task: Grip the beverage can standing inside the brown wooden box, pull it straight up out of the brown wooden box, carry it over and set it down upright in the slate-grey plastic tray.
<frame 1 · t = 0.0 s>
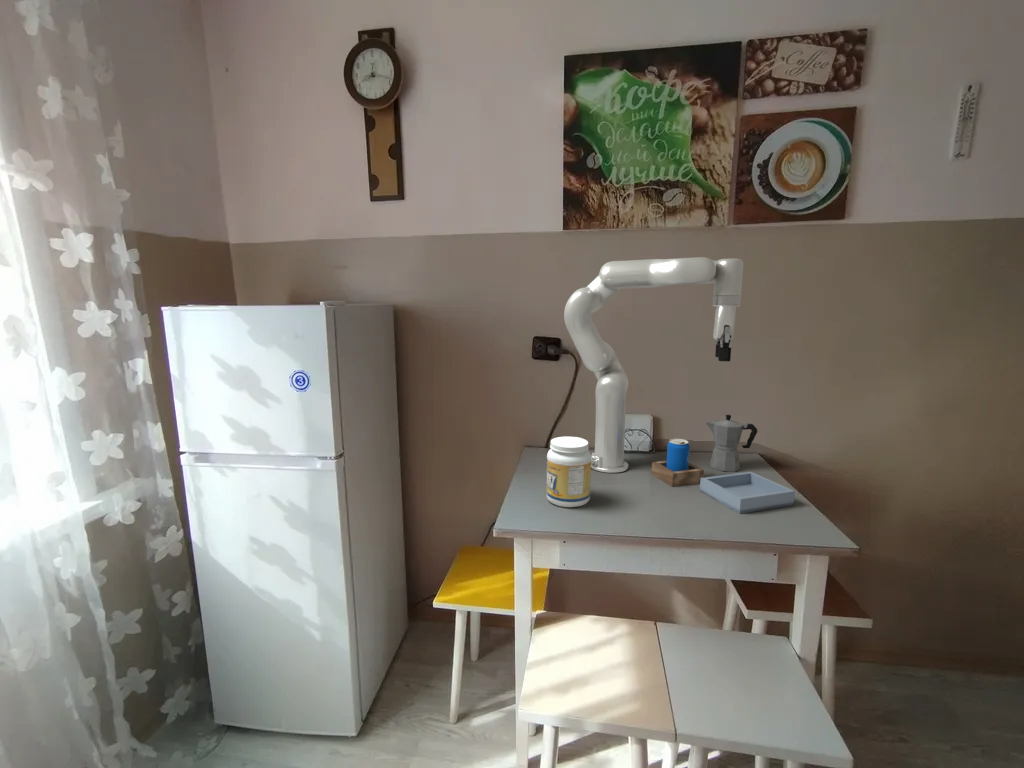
hand: (722, 359, 152), 37 cm above the table, tool pointing down, fingers open, 9 cm apart
beverage can: (676, 479, 157), resting in brown wooden box
supplement tub: (568, 500, 141), on the table
brown wooden box: (676, 478, 157), on the table
tray: (745, 497, 142), on the table
coffeepot: (728, 468, 167), on the table
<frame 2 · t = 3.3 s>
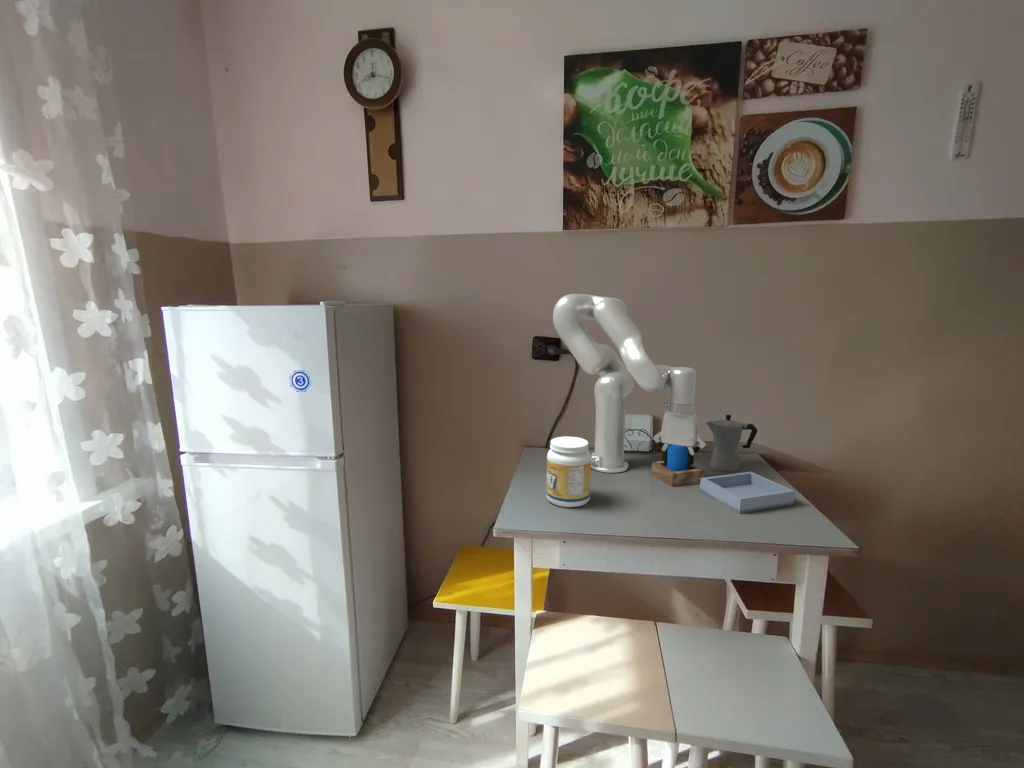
hand: (677, 463, 156), 5 cm above the table, tool pointing down, fingers closed on beverage can, 6 cm apart
beverage can: (676, 478, 157), resting in brown wooden box, touching gripper
everything else where it was.
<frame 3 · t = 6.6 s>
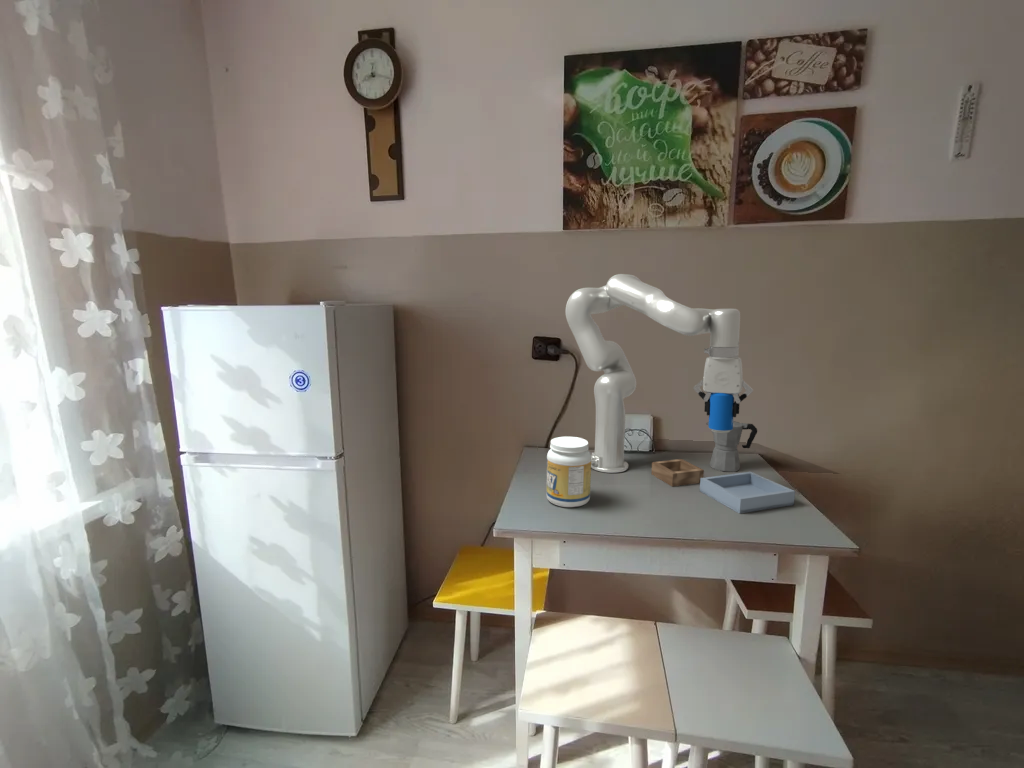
hand: (721, 414, 144), 23 cm above the table, tool pointing down, fingers closed on beverage can, 6 cm apart
beverage can: (720, 431, 145), point 18 cm above the table, touching gripper
everything else where it was.
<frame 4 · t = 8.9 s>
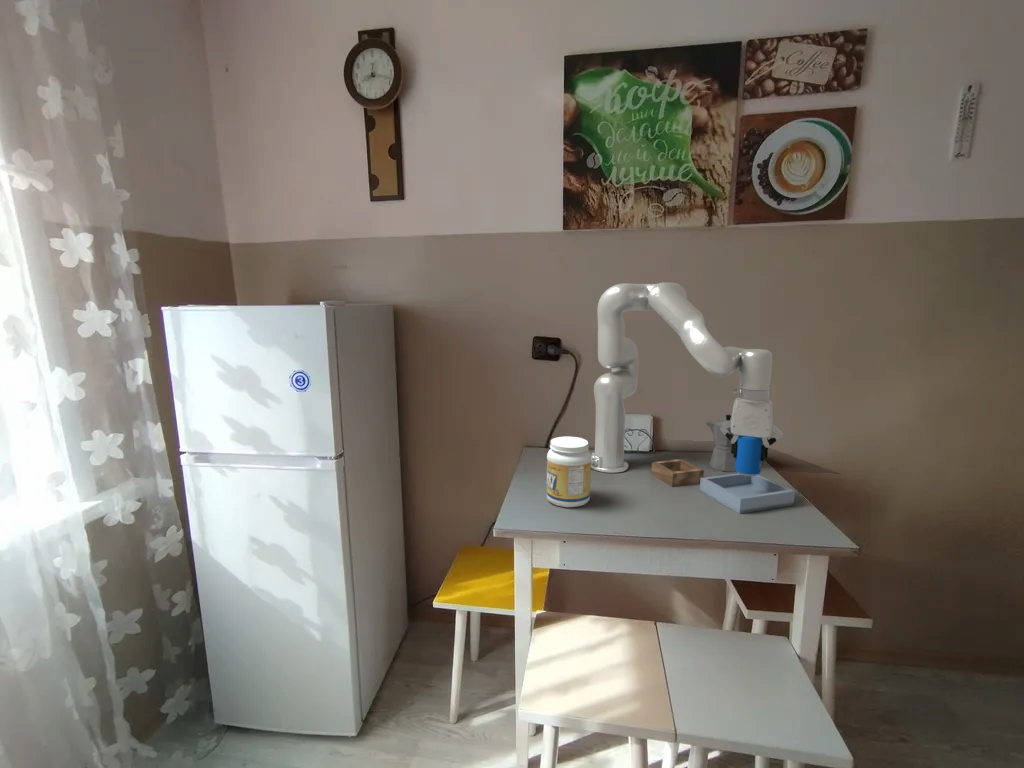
hand: (748, 457, 140), 12 cm above the table, tool pointing down, fingers closed on beverage can, 6 cm apart
beverage can: (747, 474, 141), point 7 cm above the table, touching gripper
everything else where it was.
when the fingers open (7 cm above the table, at t = 10.3 s): beverage can drops 2 cm, resting on tray.
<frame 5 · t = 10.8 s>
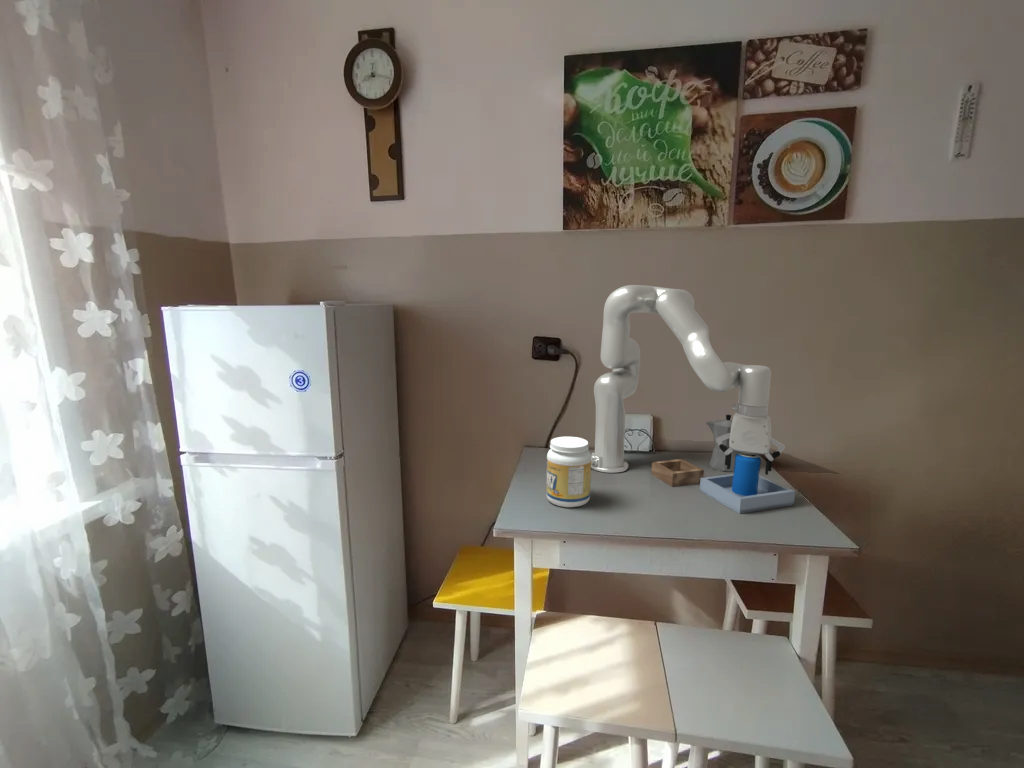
hand: (747, 470, 141), 8 cm above the table, tool pointing down, fingers open, 9 cm apart
beverage can: (743, 495, 142), point 1 cm above the table, touching tray
everything else where it was.
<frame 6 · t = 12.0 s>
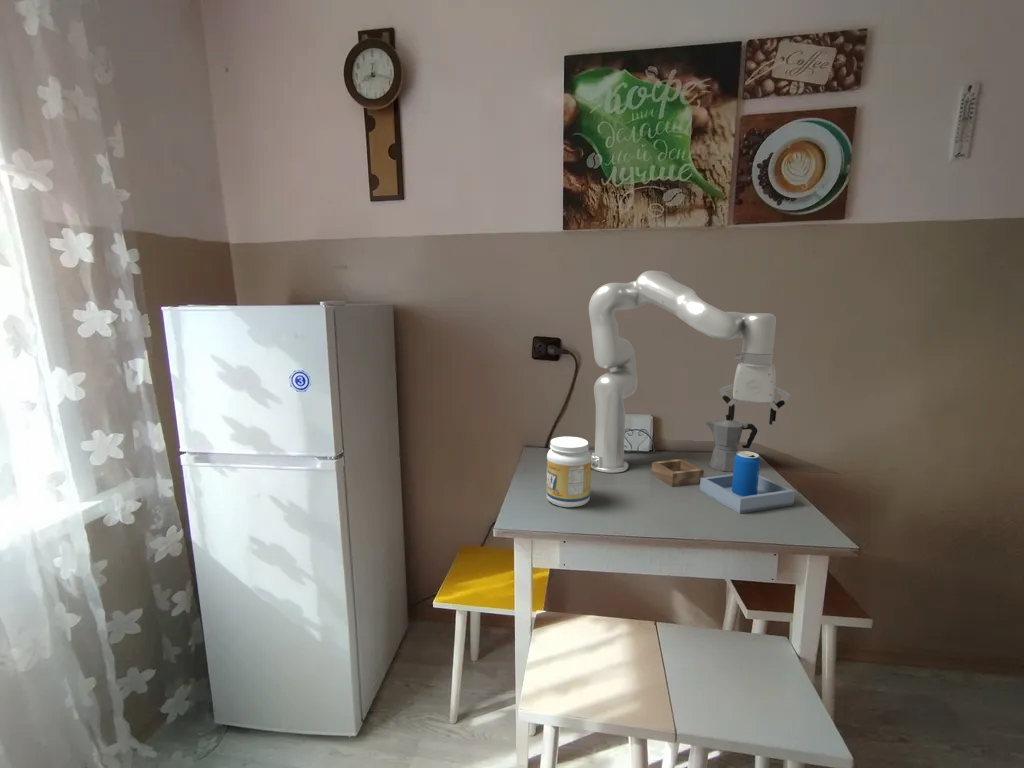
hand: (751, 421, 138), 22 cm above the table, tool pointing down, fingers open, 9 cm apart
nothing on the table moved.
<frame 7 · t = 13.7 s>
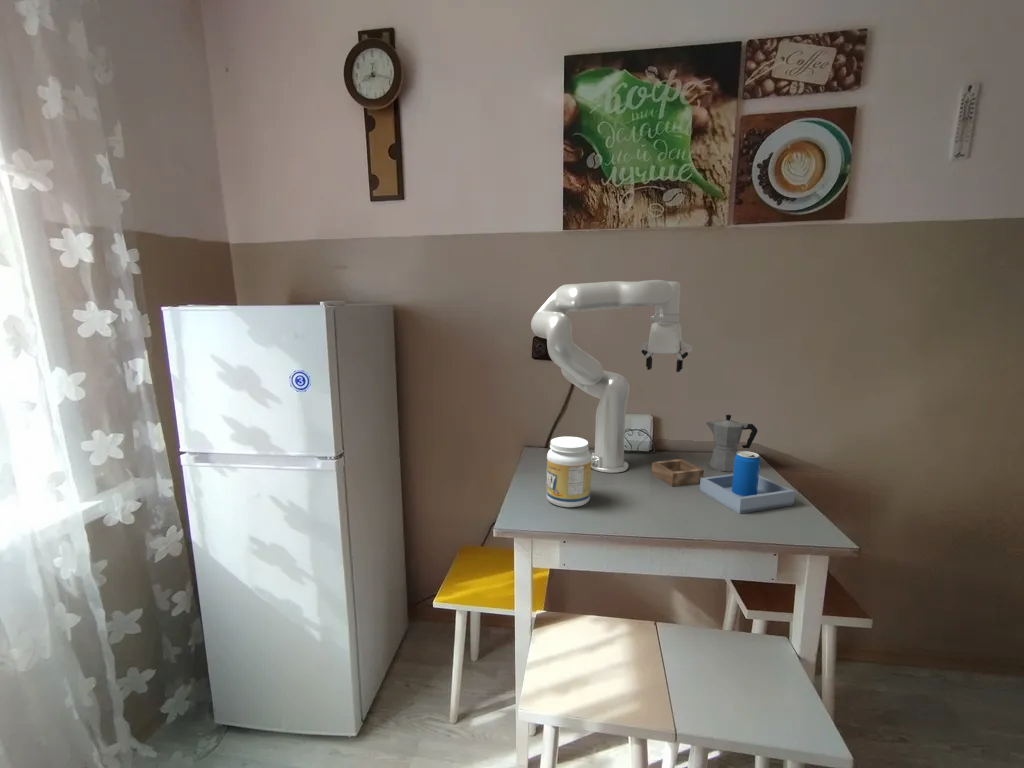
hand: (663, 370, 170), 31 cm above the table, tool pointing down, fingers open, 9 cm apart
nothing on the table moved.
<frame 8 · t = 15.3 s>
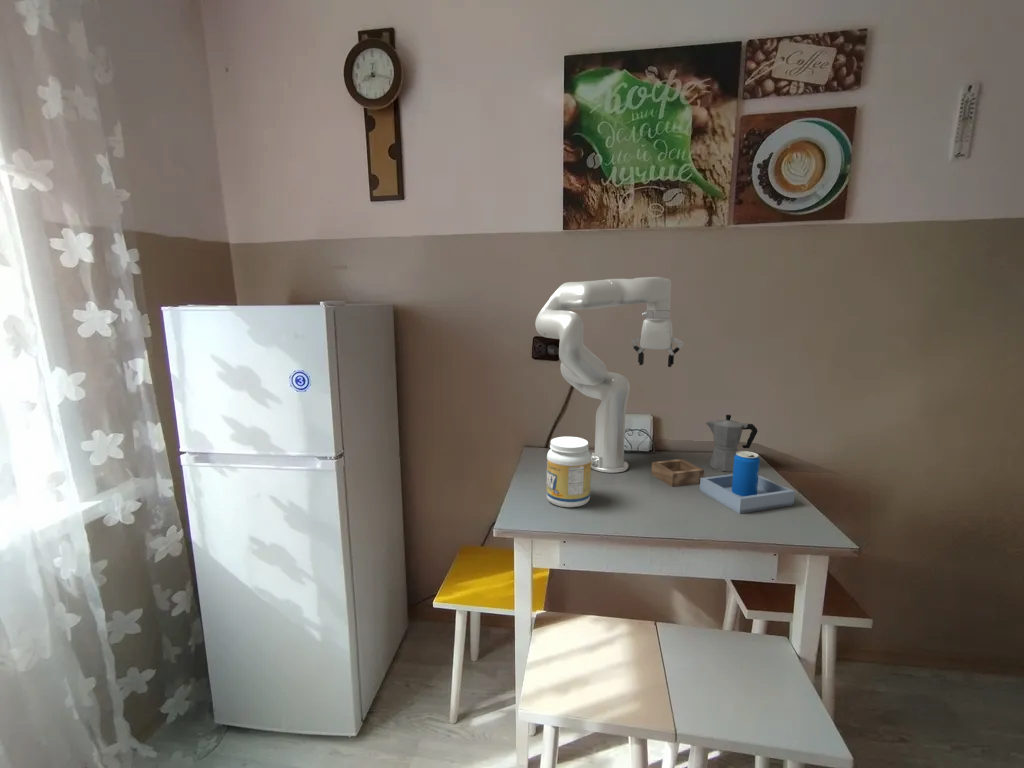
hand: (655, 365, 174), 32 cm above the table, tool pointing down, fingers open, 9 cm apart
nothing on the table moved.
at the end: beverage can inside the target area on the tray (0.4 cm from its centre), point 0.6 cm above the tray's base; beverage can tilted 0°; the gripper is holding nothing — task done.
